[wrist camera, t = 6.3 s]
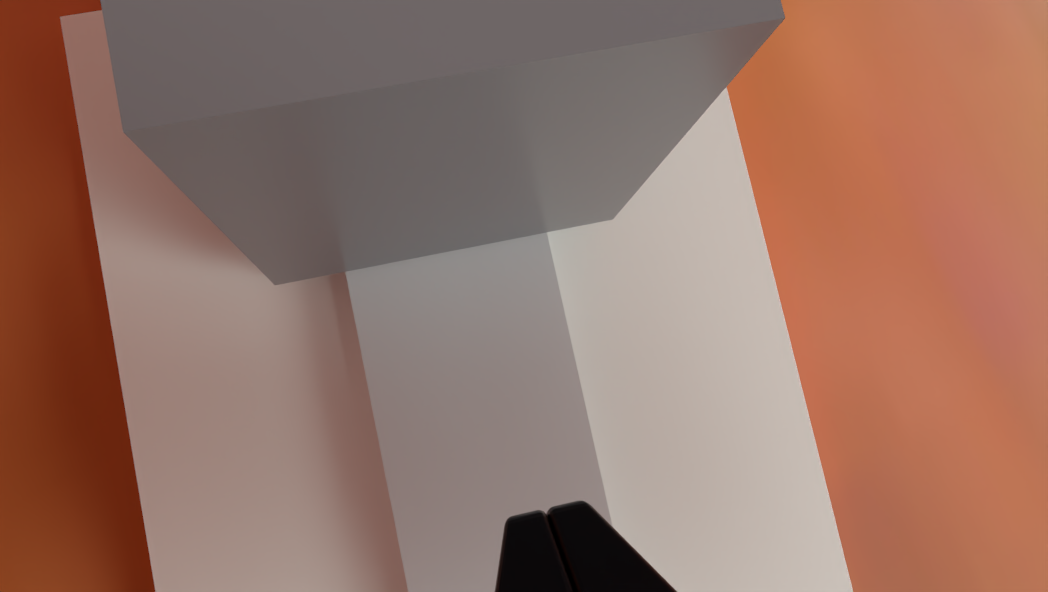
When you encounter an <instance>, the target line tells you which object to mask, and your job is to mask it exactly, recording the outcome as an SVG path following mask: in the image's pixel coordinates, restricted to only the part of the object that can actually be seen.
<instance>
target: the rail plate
mask: <svg viewBox="0 0 1048 592" xmlns="http://www.w3.org/2000/svg"><path fill="white" fill-rule="evenodd" d="M60 21H61V27H62V33H63V39H64V45H65V51H66V57H67V63H68V69H69V75H70V81H71V87H72V93H73V99H74V105H75V111H76V117H77V123H78V129H79V135H80V141H81V147H82V153H83V159H84V165H85V171H86V177H87V183H88V189H89V195H90V201H91V207H92V213H93V219H94V225H95V231H96V237H97V243H98V249H99V255H100V261H101V267H102V273H103V279H104V285H105V291H106V298H107V304H108V310H109V316H110V322H111V328H112V334H113V340H114V346H115V352H116V358H117V364H118V370H119V376H120V382H121V388H122V394H123V400H124V406H125V412H126V418H127V424H128V430H129V436H130V442H131V448H132V454H133V460H134V466H135V472H136V478H137V484H138V490H139V496H140V502H141V508H142V514H143V520H144V526H145V532H146V538H147V544H148V550H149V556H150V562H151V568H152V574H153V580H154V586H155V592H495V586H496V580H497V573H498V566H499V559H500V552H501V545H502V539H503V532H504V525H505V522H506V520H507V519H508V518H509V517H510V516H514V515H518V514H522V513H527V512H531V511H535V510H542V511H544V512H545V513H546V514H547V511H548V510H549V508H551V507H553V506H557V505H561V504H566V503H570V502H574V501H579V500H582V501H585V502H587V503H589V504H590V505H591V506H592V507H593V508H594V509H595V510H596V511H597V512H598V513H599V514H600V515H601V516H602V517H603V518H604V519H605V520H606V521H607V522H608V523H609V524H610V525H611V526H612V527H613V528H614V529H615V530H616V531H617V532H618V533H619V534H620V535H621V536H622V537H623V538H624V539H625V540H626V541H627V542H628V543H629V544H630V545H631V546H632V547H633V548H634V549H635V550H636V551H637V552H638V553H639V554H640V555H641V556H642V557H643V558H644V559H645V560H646V561H647V562H648V563H649V564H650V565H651V566H652V567H653V568H654V569H655V570H656V571H657V572H658V573H659V574H660V575H661V576H662V577H663V578H664V579H665V580H666V581H667V582H668V583H669V584H670V585H671V586H672V587H673V588H674V589H675V590H676V591H677V592H853V589H852V585H851V581H850V577H849V573H848V569H847V565H846V561H845V557H844V553H843V549H842V545H841V541H840V538H839V534H838V530H837V526H836V522H835V518H834V514H833V510H832V506H831V502H830V498H829V494H828V490H827V486H826V482H825V478H824V474H823V470H822V466H821V462H820V458H819V454H818V450H817V446H816V442H815V438H814V434H813V430H812V426H811V422H810V418H809V414H808V410H807V406H806V402H805V398H804V394H803V390H802V386H801V382H800V378H799V374H798V370H797V366H796V362H795V358H794V354H793V350H792V346H791V342H790V338H789V334H788V330H787V326H786V322H785V318H784V314H783V310H782V306H781V302H780V298H779V294H778V291H777V287H776V283H775V279H774V275H773V271H772V267H771V263H770V259H769V255H768V251H767V247H766V243H765V239H764V235H763V231H762V227H761V223H760V219H759V215H758V211H757V207H756V203H755V199H754V195H753V191H752V187H751V183H750V179H749V175H748V171H747V167H746V163H745V159H744V155H743V151H742V147H741V143H740V139H739V135H738V131H737V127H736V123H735V119H734V115H733V111H732V107H731V103H730V99H729V95H728V91H727V87H726V88H725V89H724V90H723V91H722V92H721V94H720V95H719V96H718V97H717V98H716V99H715V101H714V102H713V103H712V104H711V105H710V106H709V108H708V109H707V110H706V111H705V112H704V114H703V115H702V116H701V117H700V118H699V119H698V121H697V122H696V123H695V124H694V125H693V126H692V128H691V129H690V130H689V131H688V132H687V133H686V135H685V136H684V137H683V138H682V139H681V140H680V142H679V143H678V144H677V145H676V146H675V147H674V149H673V150H672V151H671V152H670V153H669V154H668V156H667V157H666V158H665V159H664V160H663V161H662V163H661V164H660V165H659V166H658V167H657V168H656V170H655V171H654V172H653V173H652V174H651V176H650V177H649V178H648V179H647V180H646V181H645V183H644V184H643V185H642V186H641V187H640V188H639V190H638V191H637V192H636V193H635V194H634V195H633V197H632V198H631V199H630V200H629V201H628V202H627V204H626V205H625V206H624V207H623V208H622V209H621V211H620V212H619V213H618V214H617V215H616V216H615V218H614V219H613V220H608V221H602V222H597V223H592V224H587V225H582V226H577V227H572V228H567V229H561V230H556V231H551V232H546V233H541V234H536V235H531V236H526V237H520V238H515V239H510V240H505V241H500V242H495V243H490V244H485V245H479V246H474V247H469V248H464V249H459V250H454V251H449V252H444V253H438V254H433V255H428V256H423V257H418V258H413V259H408V260H403V261H397V262H392V263H387V264H382V265H377V266H372V267H367V268H362V269H356V270H351V271H346V272H341V273H336V274H331V275H326V276H321V277H316V278H310V279H305V280H300V281H295V282H290V283H285V284H280V285H274V284H273V283H272V282H271V281H270V280H269V279H268V278H267V277H266V276H265V275H264V274H263V273H262V272H261V271H260V270H259V269H258V268H257V267H256V266H255V265H254V264H253V263H252V262H251V261H250V260H249V259H248V258H247V257H246V256H245V255H244V254H243V253H242V252H241V251H240V250H239V249H238V248H237V247H236V246H235V245H234V244H233V243H232V242H231V241H230V240H229V238H228V237H227V236H226V235H225V234H224V233H223V232H222V231H221V230H220V229H219V228H218V227H217V226H216V225H215V224H214V223H213V222H212V221H211V220H210V219H209V218H208V217H207V216H206V215H205V214H204V213H203V212H202V211H201V210H200V209H199V208H198V207H197V206H196V205H195V204H194V203H193V202H192V201H191V200H190V199H189V198H188V197H187V196H186V195H185V194H184V193H183V192H182V191H181V190H180V189H179V188H178V187H177V186H176V185H175V184H174V183H173V182H172V181H171V180H170V179H169V178H168V177H167V176H166V175H165V174H164V173H163V172H162V171H161V170H160V169H159V168H158V167H157V166H156V165H155V164H154V163H153V162H152V161H151V160H150V159H149V158H148V157H147V156H146V155H145V154H144V153H143V152H142V151H141V150H140V149H139V148H138V147H137V146H136V145H135V144H134V143H133V142H132V141H131V140H130V139H129V138H128V137H127V136H126V135H125V134H124V133H123V129H122V123H121V117H120V111H119V106H118V100H117V94H116V88H115V82H114V77H113V71H112V65H111V59H110V53H109V48H108V42H107V36H106V30H105V24H104V18H103V13H102V10H99V11H93V12H87V13H80V14H74V15H67V16H61V17H60Z"/></svg>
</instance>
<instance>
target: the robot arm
mask: <svg viewBox="0 0 1048 592" xmlns="http://www.w3.org/2000/svg"><path fill="white" fill-rule="evenodd" d="M495 592H677V591H676V590H675V589H674V588H673V587H672V586H671V585H670V584H669V583H668V582H667V581H666V580H665V579H664V578H663V577H662V576H661V575H660V574H659V573H658V572H657V571H656V570H655V569H654V568H653V567H652V566H651V565H650V564H649V563H648V562H647V561H646V560H645V559H644V558H643V557H642V556H641V555H640V554H639V553H638V552H637V551H636V550H635V549H634V548H633V547H632V546H631V545H630V544H629V543H628V542H627V541H626V540H625V539H624V538H623V537H622V536H621V535H620V534H619V533H618V532H617V531H616V530H615V529H614V528H613V527H612V526H611V525H610V524H609V523H608V522H607V521H606V520H605V519H604V518H603V517H602V516H601V515H600V514H599V513H598V512H597V511H596V510H595V509H594V508H593V507H592V506H591V505H590V504H589V503H587V502H585V501H582V500H579V501H574V502H570V503H566V504H561V505H557V506H553V507H551V508H549V510H548V511H547V514H546V513H545V512H544V511H542V510H535V511H531V512H527V513H522V514H518V515H514V516H510V517H509V518H508V519H507V520H506V522H505V525H504V532H503V539H502V545H501V552H500V559H499V566H498V573H497V580H496V586H495Z"/></svg>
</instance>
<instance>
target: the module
mask: <svg viewBox="0 0 1048 592" xmlns="http://www.w3.org/2000/svg"><path fill="white" fill-rule="evenodd" d="M100 1H101V7H102V13H103V18H104V24H105V30H106V36H107V42H108V48H109V53H110V59H111V65H112V71H113V77H114V82H115V88H116V94H117V100H118V106H119V111H120V117H121V123H122V129H123V133H124V134H125V135H126V136H127V137H128V138H129V139H130V140H131V141H132V142H133V143H134V144H135V145H136V146H137V147H138V148H139V149H140V150H141V151H142V152H143V153H144V154H145V155H146V156H147V157H148V158H149V159H150V160H151V161H152V162H153V163H154V164H155V165H156V166H157V167H158V168H159V169H160V170H161V171H162V172H163V173H164V174H165V175H166V176H167V177H168V178H169V179H170V180H171V181H172V182H173V183H174V184H175V185H176V186H177V187H178V188H179V189H180V190H181V191H182V192H183V193H184V194H185V195H186V196H187V197H188V198H189V199H190V200H191V201H192V202H193V203H194V204H195V205H196V206H197V207H198V208H199V209H200V210H201V211H202V212H203V213H204V214H205V215H206V216H207V217H208V218H209V219H210V220H211V221H212V222H213V223H214V224H215V225H216V226H217V227H218V228H219V229H220V230H221V231H222V232H223V233H224V234H225V235H226V236H227V237H228V238H229V240H230V241H231V242H232V243H233V244H234V245H235V246H236V247H237V248H238V249H239V250H240V251H241V252H242V253H243V254H244V255H245V256H246V257H247V258H248V259H249V260H250V261H251V262H252V263H253V264H254V265H255V266H256V267H257V268H258V269H259V270H260V271H261V272H262V273H263V274H264V275H265V276H266V277H267V278H268V279H269V280H270V281H271V282H272V283H273V284H274V285H280V284H285V283H290V282H295V281H300V280H305V279H310V278H316V277H321V276H326V275H331V274H336V273H341V272H346V271H351V270H356V269H362V268H367V267H372V266H377V265H382V264H387V263H392V262H397V261H403V260H408V259H413V258H418V257H423V256H428V255H433V254H438V253H444V252H449V251H454V250H459V249H464V248H469V247H474V246H479V245H485V244H490V243H495V242H500V241H505V240H510V239H515V238H520V237H526V236H531V235H536V234H541V233H546V232H551V231H556V230H561V229H567V228H572V227H577V226H582V225H587V224H592V223H597V222H602V221H608V220H613V219H614V218H615V216H616V215H617V214H618V213H619V212H620V211H621V209H622V208H623V207H624V206H625V205H626V204H627V202H628V201H629V200H630V199H631V198H632V197H633V195H634V194H635V193H636V192H637V191H638V190H639V188H640V187H641V186H642V185H643V184H644V183H645V181H646V180H647V179H648V178H649V177H650V176H651V174H652V173H653V172H654V171H655V170H656V168H657V167H658V166H659V165H660V164H661V163H662V161H663V160H664V159H665V158H666V157H667V156H668V154H669V153H670V152H671V151H672V150H673V149H674V147H675V146H676V145H677V144H678V143H679V142H680V140H681V139H682V138H683V137H684V136H685V135H686V133H687V132H688V131H689V130H690V129H691V128H692V126H693V125H694V124H695V123H696V122H697V121H698V119H699V118H700V117H701V116H702V115H703V114H704V112H705V111H706V110H707V109H708V108H709V106H710V105H711V104H712V103H713V102H714V101H715V99H716V98H717V97H718V96H719V95H720V94H721V92H722V91H723V90H724V89H725V88H726V87H727V85H728V84H729V83H730V82H731V81H732V80H733V78H734V77H735V76H736V75H737V74H738V73H739V71H740V70H741V69H742V68H743V67H744V66H745V64H746V63H747V62H748V61H749V60H750V59H751V57H752V56H753V55H754V54H755V53H756V52H757V50H758V49H759V48H760V47H761V46H762V44H763V43H764V42H765V41H766V40H767V39H768V37H769V36H770V35H771V34H772V33H773V32H774V30H775V29H776V28H777V27H778V26H779V25H780V23H781V22H782V21H783V20H784V19H785V16H784V12H783V8H782V4H781V0H100Z"/></svg>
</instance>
